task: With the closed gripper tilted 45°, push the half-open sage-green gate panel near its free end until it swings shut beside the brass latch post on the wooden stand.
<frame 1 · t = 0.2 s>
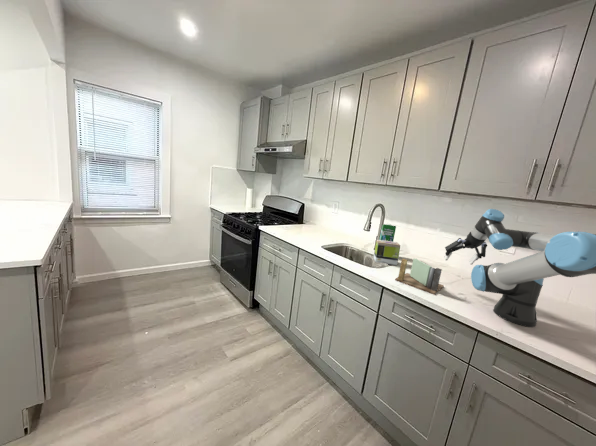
hand: (457, 260, 141), 16 cm above the worktop, tool tilted 35°, fingers open, 13 cm apart
wooden stand: (428, 289, 135), on the worktop
milk carton: (383, 255, 195), on the worktop
gate: (422, 272, 141), point 7 cm above the worktop, hinge at -35.0°
tea box: (384, 262, 177), on the worktop
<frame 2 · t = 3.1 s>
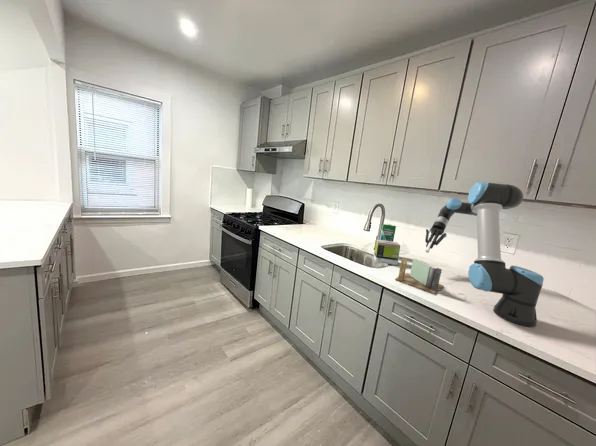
hand: (426, 251, 160), 15 cm above the worktop, tool tilted 45°, fingers closed
nothing on the worktop moved.
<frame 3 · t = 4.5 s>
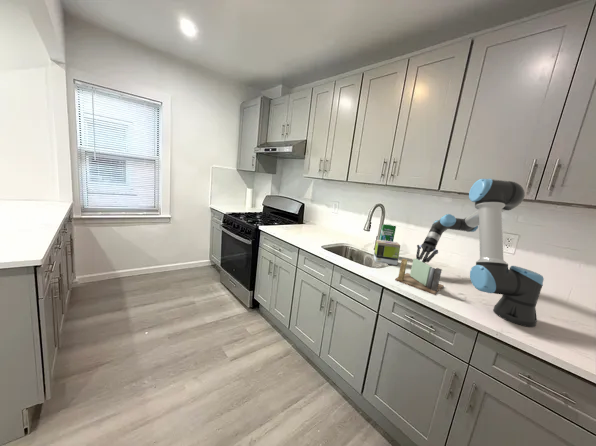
hand: (417, 268, 153), 5 cm above the worktop, tool tilted 45°, fingers closed
nothing on the worktop moved.
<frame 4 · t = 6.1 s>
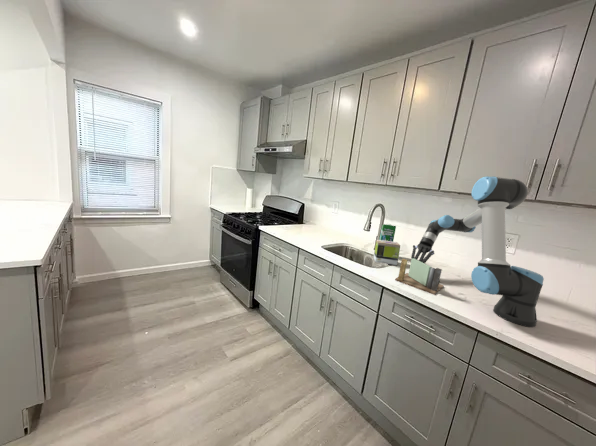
hand: (412, 270, 150), 5 cm above the worktop, tool tilted 45°, fingers closed
gate: (421, 272, 141), point 7 cm above the worktop, hinge at -30.6°, touching gripper
everything else where it was.
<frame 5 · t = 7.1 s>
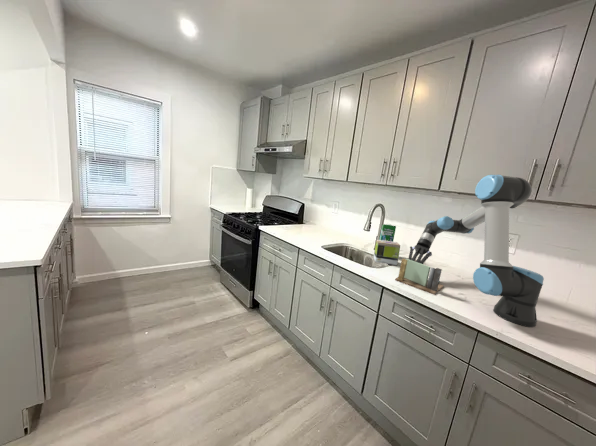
hand: (409, 271, 146), 5 cm above the worktop, tool tilted 45°, fingers closed
gate: (417, 272, 139), point 7 cm above the worktop, hinge at -9.2°, touching gripper
everything else where it was.
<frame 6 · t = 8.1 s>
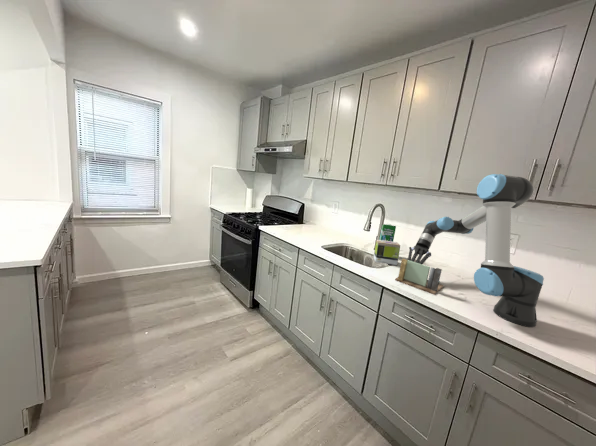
hand: (409, 272, 144), 5 cm above the worktop, tool tilted 45°, fingers closed
gate: (417, 273, 139), point 7 cm above the worktop, hinge at -0.7°, touching gripper
everything else where it was.
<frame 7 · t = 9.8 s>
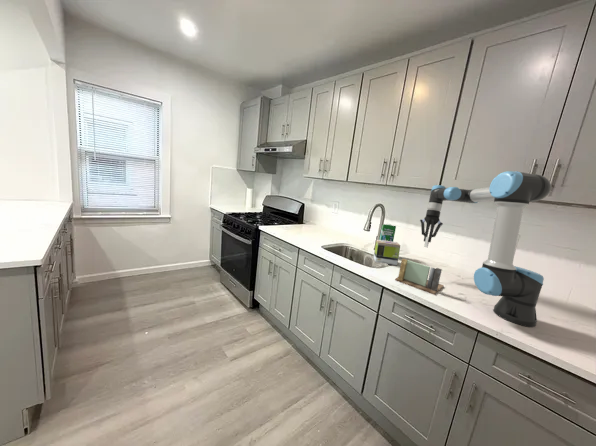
hand: (425, 247, 155), 18 cm above the worktop, tool pointing down, fingers closed
gate: (417, 273, 139), point 7 cm above the worktop, hinge at -0.6°
everything else where it was.
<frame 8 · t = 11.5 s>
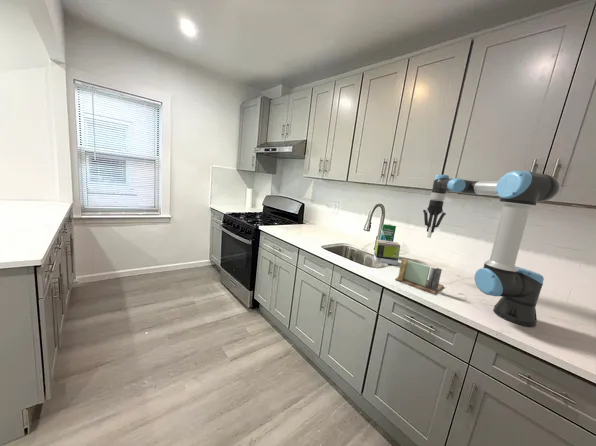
hand: (428, 237, 157), 24 cm above the worktop, tool pointing down, fingers closed
nothing on the worktop moved.
at the end: gate at -1° (first picture: -35°); tea box moved 0.3 cm from its start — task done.
